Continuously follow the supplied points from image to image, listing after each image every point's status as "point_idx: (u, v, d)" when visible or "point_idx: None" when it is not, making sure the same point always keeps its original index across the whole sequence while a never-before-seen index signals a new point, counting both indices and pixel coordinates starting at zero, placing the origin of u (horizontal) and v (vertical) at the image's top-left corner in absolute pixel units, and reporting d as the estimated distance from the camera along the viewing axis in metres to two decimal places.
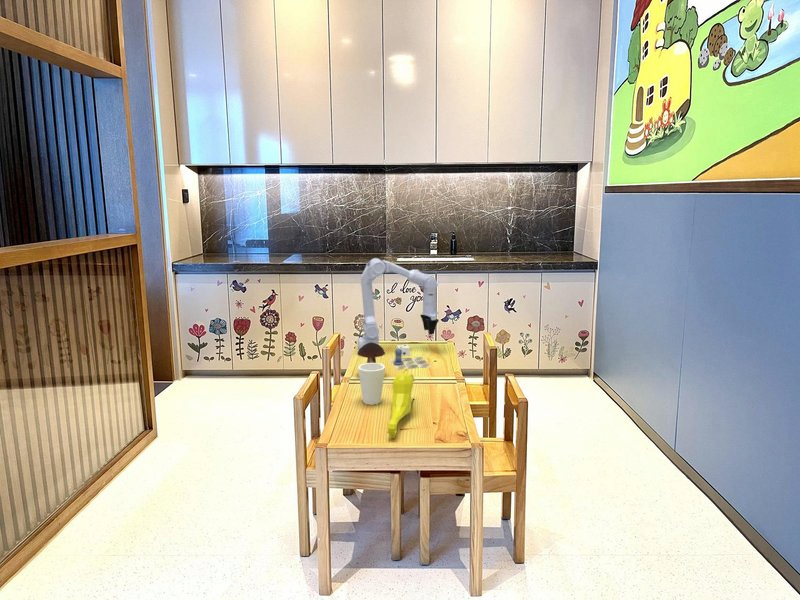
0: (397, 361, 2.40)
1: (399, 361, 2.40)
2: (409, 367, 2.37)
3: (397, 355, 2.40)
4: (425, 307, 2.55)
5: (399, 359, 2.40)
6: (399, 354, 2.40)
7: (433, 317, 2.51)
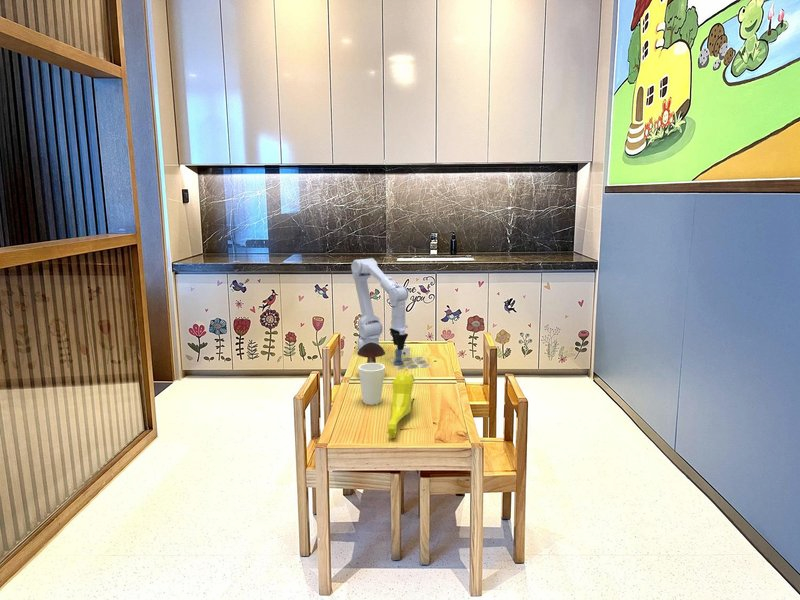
0: (397, 361, 2.40)
1: (399, 361, 2.40)
2: (409, 367, 2.37)
3: (397, 355, 2.40)
4: (394, 321, 2.36)
5: (399, 359, 2.40)
6: (399, 354, 2.40)
7: (402, 332, 2.32)
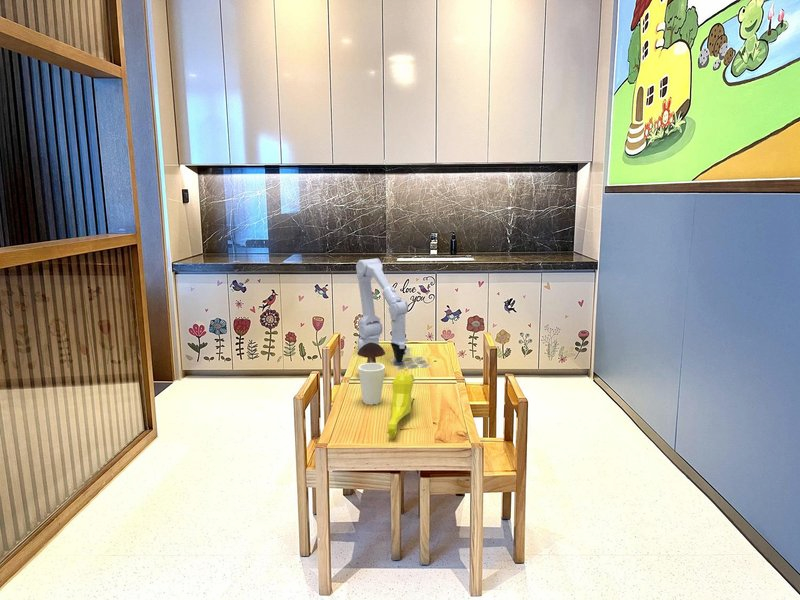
0: None
1: None
2: (409, 367, 2.37)
3: None
4: (394, 334, 2.37)
5: None
6: None
7: (402, 346, 2.33)
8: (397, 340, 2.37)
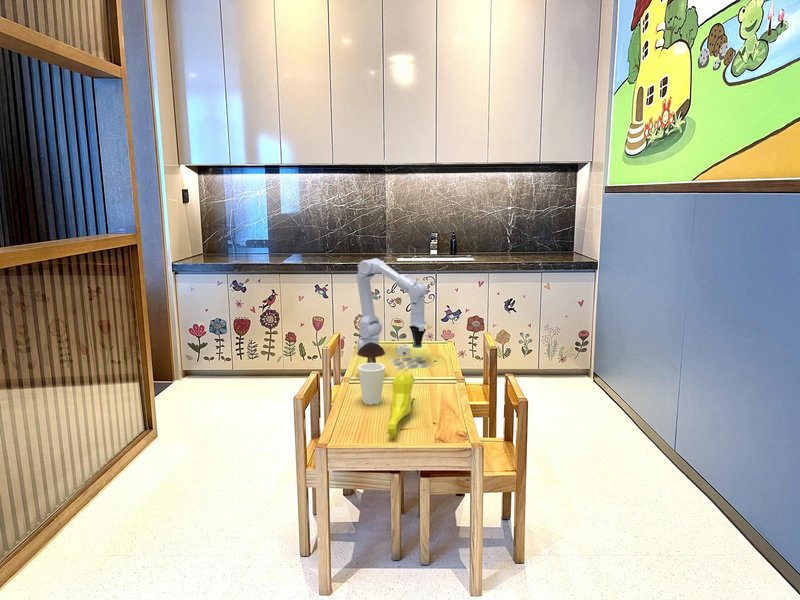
0: None
1: None
2: (409, 367, 2.37)
3: None
4: (413, 317, 2.37)
5: None
6: None
7: (421, 328, 2.33)
8: (416, 322, 2.37)
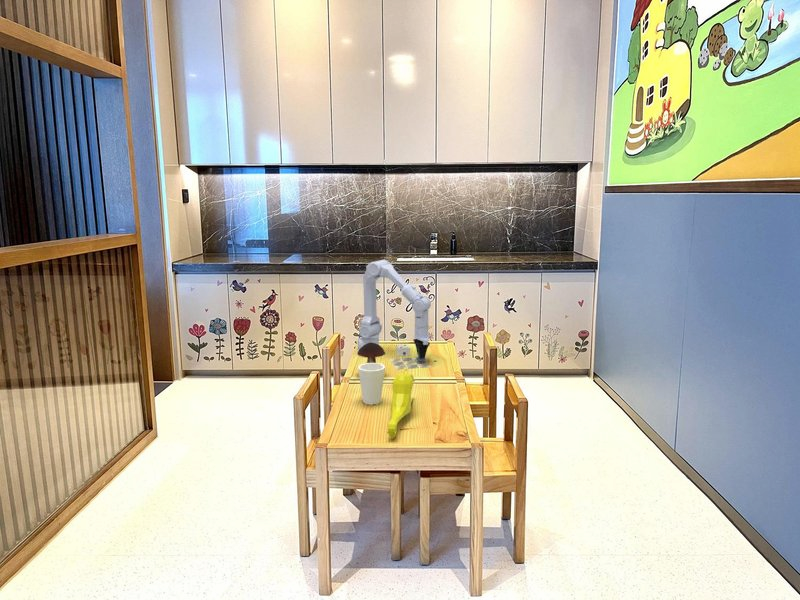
0: None
1: None
2: (409, 367, 2.37)
3: None
4: (417, 330, 2.39)
5: None
6: None
7: (425, 342, 2.35)
8: (420, 336, 2.39)
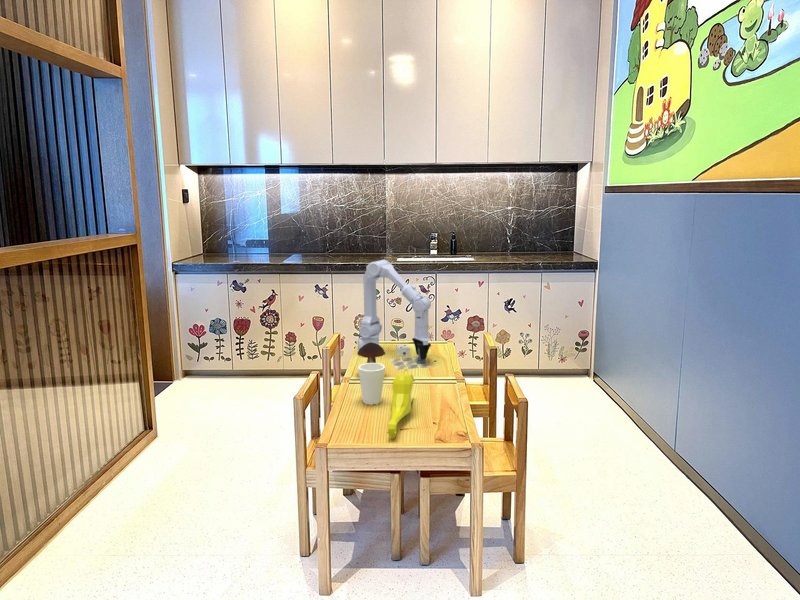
0: (420, 359, 2.43)
1: None
2: (409, 367, 2.37)
3: None
4: (417, 331, 2.39)
5: None
6: None
7: (425, 342, 2.35)
8: (420, 336, 2.39)
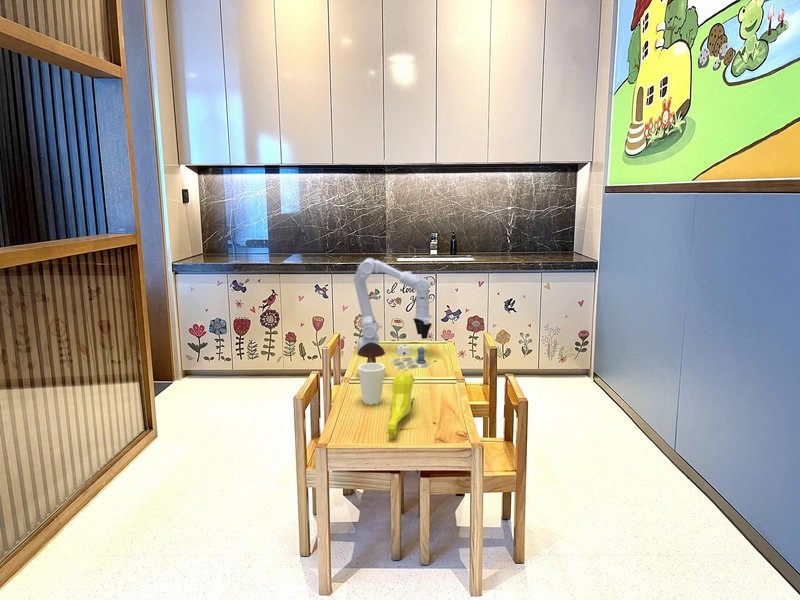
0: (420, 359, 2.43)
1: (422, 359, 2.43)
2: (409, 367, 2.37)
3: (420, 354, 2.42)
4: (418, 311, 2.48)
5: (422, 357, 2.42)
6: (422, 353, 2.42)
7: (426, 321, 2.44)
8: (421, 316, 2.48)
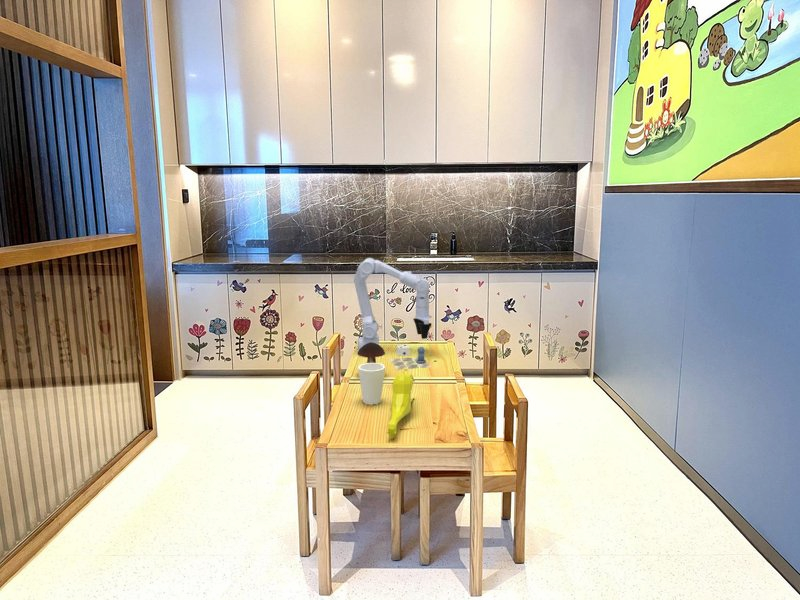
0: (420, 359, 2.43)
1: (422, 359, 2.43)
2: (409, 367, 2.37)
3: (420, 353, 2.42)
4: (418, 311, 2.48)
5: (422, 357, 2.42)
6: (422, 352, 2.42)
7: (426, 321, 2.44)
8: (421, 316, 2.48)
